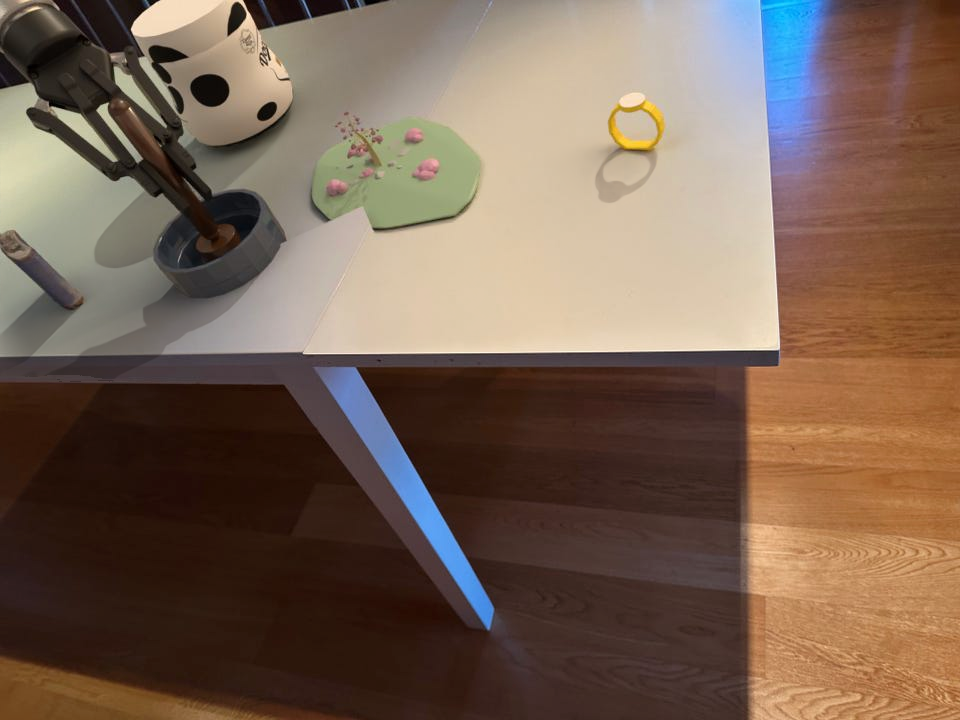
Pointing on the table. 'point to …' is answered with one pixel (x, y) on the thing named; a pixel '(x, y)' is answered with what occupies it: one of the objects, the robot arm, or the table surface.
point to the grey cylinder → (39, 270)
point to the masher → (175, 182)
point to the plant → (397, 173)
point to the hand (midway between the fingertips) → (198, 203)
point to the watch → (634, 104)
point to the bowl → (233, 268)
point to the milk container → (215, 68)
